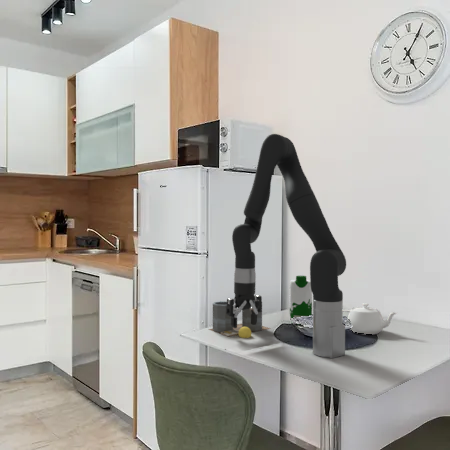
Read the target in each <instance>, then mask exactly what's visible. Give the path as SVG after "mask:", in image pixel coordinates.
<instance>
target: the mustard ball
mask: <svg viewBox="0 0 450 450" xmlns="http://www.w3.org/2000/svg"><path fill="white" fill-rule="evenodd" d="M238 334H239V335H238V337H239V338H241V339H249V338H251V336H252V332H251V330H250V328H248V327H242V328H240V330H239V333H238Z"/></svg>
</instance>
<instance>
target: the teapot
mask: <svg viewBox="0 0 450 450" xmlns="http://www.w3.org/2000/svg"><path fill="white" fill-rule="evenodd" d="M361 305H362V306H355V307H352V308H351V309H343V313H344V312H345V313H346V312H347V313H348V316H347V318H348V319H350V321H351V323H352V325H353V327H352V328H351V329H349V330H350V331H351V330H352V331H353V333H355V332H357V333H356V334H358V333H364V334H363V335H366V334H372V335H377V334H379V333H380V332H382V331H383V330H384V329H385V328H387V327H389V325H390V324H391V321H392V319H393V317H394V316H395V315H398V312H395V311H394V312H393V311H391V312H390V313H389V315H388V317H387V319H385V320H384V317H383V315H382V313H381V311H380V309H378V308H375V307H369V303H366V302H365V303H364V302H363V303H361ZM352 331H351V332H352Z"/></svg>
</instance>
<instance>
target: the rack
mask: <svg viewBox="0 0 450 450" xmlns="http://www.w3.org/2000/svg"><path fill="white" fill-rule="evenodd" d="M253 303H254V305H255V301H254V302H253ZM226 307H227V301H225V300H223V301H221V300H220V301H214V302H213V303H212V328H208V330H209V331H211V332H213V333H217V334H220V335H223V336H226V337H228V338H229V337H235V336H239V334H238V333H239V330H240V328H242V327H248V328H250V330H251V333H256V332H260V331H265V330H271V329H272V328H270V327H267V326H263V311H262V312H259V313H258V314H257V323H256V325H252V324H251V314H252V313H251V311H250V309H245V310H241V315H242V316H241V323H237V328H233V327H232V326H231V316H228V315H226ZM258 308H259V306H258Z"/></svg>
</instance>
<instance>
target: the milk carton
mask: <svg viewBox="0 0 450 450" xmlns="http://www.w3.org/2000/svg"><path fill="white" fill-rule="evenodd" d="M309 315H312V316H313V293H312V291H311V283H310V279H307V276H306V275H296V276H295V279H290V283H289V317H290V319H291V318H293V317H301V316H309Z"/></svg>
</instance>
